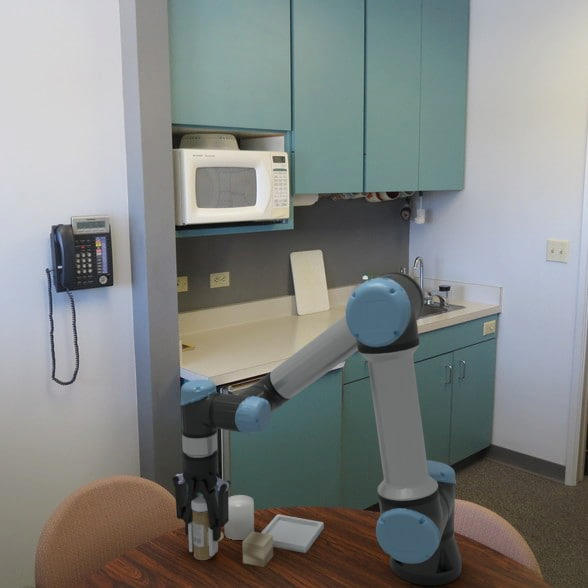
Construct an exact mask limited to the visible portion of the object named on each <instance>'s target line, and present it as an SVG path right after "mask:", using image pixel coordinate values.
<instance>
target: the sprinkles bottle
mask: <svg viewBox="0 0 588 588" xmlns="http://www.w3.org/2000/svg"><path fill="white" fill-rule="evenodd" d="M191 508H192V511H193V512H192V513H193V543H194V551H193V558H195V559H196V560H199V561H207V560H210V559H212V558H213V557H214V555H213V556H209V534H208V528H209V527H210V526H211V522H210V518H209V513H208V509H207V504H206V501H205V499H204V498H203V494H202V495H198V496H197V497H196V498H195V499H194V500H192V501H191Z"/></svg>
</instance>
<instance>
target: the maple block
mask: <svg viewBox="0 0 588 588" xmlns="http://www.w3.org/2000/svg"><path fill="white" fill-rule="evenodd" d="M273 556H274V547H273V535H269V534H264V533H261V532H257V531H254V532H253V531H252V532H251V533H250V534H249V535H248V537H247V538H246V539H245V540H242V564H246V565H251V566H256V567H261V568H265V567H266V566H267V564H268V563H269V562H270V561H271V560H272V558H273Z"/></svg>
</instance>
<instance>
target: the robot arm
mask: <svg viewBox="0 0 588 588" xmlns="http://www.w3.org/2000/svg"><path fill="white" fill-rule="evenodd" d="M424 295H425V294H424V292H423V289H422V287H421V285H420V283H418V281H417V280H416V279H414V277H412V276H410V275H409V274H407V273H404V272H399V271H390V272H387V273H383V274H380V275H379V276H377V277H374V278H372V279H368V280H366V281H364V282H363V283H361V284H360V285H359V286H358V287H357V288H356V289H355V290H354V291H353V292H352V293H351V295H350V297H349V298H348V300H347V303H346V307H345V315H344V316H343V317H342V318H340V319H339V320H337V321H336V322H334V323H333V324H332V325H331V326H330V327H328V328H326V329H325V331H323V332H322V333H320V334H319V335H318V336H316V337H314V338H313V339H312V340H311V341H310V342H308V343H307V344H306V345H304V346H303V347H302V348H300V349H299V350H298V351H297V352H295V353H294V354H292V355H291V356H290V357H288V358H287V359H285V360H284V361H283V362H282V363H280V364H279V365H278V366H276V367H274V369H273V370H271V371H270V372H269V373H267V374H266V375H264V376H263V377H261V378H260V379H259V380H257V381H256V382H255V383H254V384H251V386H249V387H247V388H245V389H244V390H242V391H240V392H239V393H237V394H229V393H222V392H217V387H216V384H215V382H214V381H212V380H209V379H192V380H189V381H187V382H185V383H183V384H182V386H181V389H180V403H179V404H180V411H181V425H182V426H181V430H182V432H181V441H182V442H181V443H182V452H183V454H182V467H183V472H182V473H181V472H178V473H176V475H174V476H172V478H171V480H172V483H173V485H174V491H175V492H174V495H175V508H176V509H175V510H176V518H177V519H178V520H183V522H184V529H185V530H184V532H185V536H187V537H188V551H189V553H194V543H193V513H192V512H193V511H192V508H191V501H192V500H194V499H195V498H196V497H197V496H199V493H200V494H202V495H203V498H204V499H205V501H206V504H207V509H208V513H209V518H210V522H211V526H210V527H209V528H208V534H209V556H213V557H214V556H215V554H216V553H217V552H218V551H219V542H218V540H219V539H220V537H221V532H222V529H221V528H224V527H225V524H226V523H227V522H228V521H229V505H228V497H229V490H230V488H231V485H232V482H231V481H230V480H224V479H222V478H220V474H219V473H218V466H219V460H218V459H219V456H218V430H226V431H231V432H237V433H242V434H248V435H249V434H255V435H257V434H258V435H259V434H263V433H264V432H265V431H266V430H267V429H268V426H269V424H270V422H271V415H272V413H273V412H274V411H276V410H278V409H279V408H281V407H282V406H283V405H285V403H287V402H289V400H291V399H292V398H294V396H297V395H298V394H299V393H301V392H302V391H303V390H305V389H306V388H307V387H309V386H310V385H312V384H313V383H314V382H316V381H317V380H319V379H320V378H321V377H323V376H324V375H325V374H328V372H330V371H332V370H333V369H334V368H335V367H337V366H338V365H340V364H341V363H342V362H344V361H345V360H347V359H348V358H350V357H351V356H353V355H354V354H356V353H358V354H360V356H362V357H363V358H365V360H366V361H367V366H368V373H369V374H368V375H369V380H370V388H371V396H372V397H371V398H372V403H373V409H374V416H375V417H374V418H375V424H376V430H377V431H376V432H377V438H378V445H379V446H378V447H379V453H380V461H381V468H382V474H383V475H382V476H383V479H382V481H381V482H380V483H379V485H377V496H378V504H379V510H380V512H379V513H380V515H379V517H378V519H377V521H376V527H375V535H376V536H375V537H376V539H377V542H378V544H379V546H380V547H381V550H383V552H385V554H387V555H389V567H390V569H391V571H392V572H393V573H394V574H395V575H396V576H398V577H399V578H400V579H402V580H404V581H406V582H409V583H412V584H415V585H421V586H428V587H429V586H431V587H433V586H435V587H437V586H443V585H448V584H450V583H452V582H454V581H455V580H457V579H458V578H459V577H460V575H461V574H462V567H463V565H462V561H463V560H462V556H461V553H460V551H459V547H458V543H457V540H456V537H455V512H456V511H455V510H456V508H455V506H456V505H455V503H456V501H455V500H456V484H457V480H456V472H455V470H454V468H452V466H450V465H449V464H446V463H443V462H441V461H435V460H429V459H428V460H427V452H426V444H425V437H424V431H423V430H424V429H423V424H422V423H423V422H422V421H423V420H422V416H421V415H422V414H421V408H420V407H421V406H420V400H419V398H420V397H419V391H418V383H417V379H416V378H417V377H416V370H415V369H416V368H415V363H414V360H415V359H414V354H415V352H416V351H417V350H418V349H419V348H420V345H421V343H420V336H419V329H418V323H417V322H418V320H419V318H420V317H421V316H422V313H423V310H424V307H425V296H424ZM186 484H187V486H188V489H187V488H186ZM216 485H217V491H218V494H217V496H218V497H217V496H216ZM186 489H187V490H186ZM217 498H218V499H217Z"/></svg>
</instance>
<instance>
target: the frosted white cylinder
mask: <svg viewBox="0 0 588 588" xmlns="http://www.w3.org/2000/svg"><path fill="white" fill-rule="evenodd" d="M254 501H255V500H254V498H252V497H251V496H248V495H247V494H246V495H244V494H237V495H236V494H235V495H232V496H228V505H229V521H228V522H227V523H226V524H225V525H224V536H225V537H226V539H228V538H229V539H228V540H230V539H232V540H231V541H234V540H242V541H244V540H245V539H246V538H247V537H248V535H249V534H250V533H251V532H252V531H253V532H255V507H254V506H255V504H254Z"/></svg>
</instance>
